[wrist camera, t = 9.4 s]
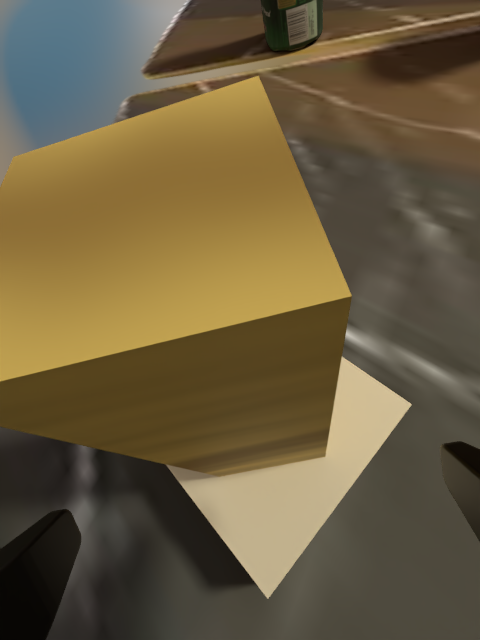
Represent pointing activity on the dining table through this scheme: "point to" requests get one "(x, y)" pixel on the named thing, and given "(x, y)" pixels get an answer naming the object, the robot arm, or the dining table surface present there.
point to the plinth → (296, 483)
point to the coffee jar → (292, 23)
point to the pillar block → (171, 291)
